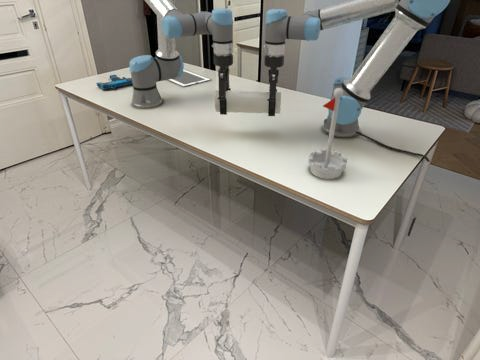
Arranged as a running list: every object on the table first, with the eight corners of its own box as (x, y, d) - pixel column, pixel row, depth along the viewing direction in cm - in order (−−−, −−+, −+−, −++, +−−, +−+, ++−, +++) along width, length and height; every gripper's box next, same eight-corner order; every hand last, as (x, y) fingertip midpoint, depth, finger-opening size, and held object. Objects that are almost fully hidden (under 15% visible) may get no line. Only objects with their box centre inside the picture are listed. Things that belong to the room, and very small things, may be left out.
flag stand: (330, 158, 128) (344, 79, 112) (352, 176, 118) (370, 92, 102) (300, 165, 124) (309, 84, 108) (320, 183, 114) (333, 97, 98)
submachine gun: (140, 68, 226) (159, 74, 209) (142, 73, 228) (160, 80, 211) (89, 77, 207) (104, 85, 190) (90, 84, 209) (106, 92, 192)
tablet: (156, 75, 222) (156, 74, 221) (183, 69, 233) (183, 69, 233) (183, 86, 201) (183, 86, 201) (210, 80, 212) (210, 79, 212)
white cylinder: (279, 109, 144) (280, 89, 140) (279, 116, 137) (281, 96, 133) (218, 107, 146) (217, 88, 142) (215, 114, 139) (214, 94, 135)
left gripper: (217, 47, 139) (219, 100, 151) (209, 60, 121) (212, 119, 134) (235, 48, 138) (236, 101, 151) (230, 61, 121) (231, 120, 133)
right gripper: (265, 48, 138) (263, 102, 150) (263, 61, 120) (261, 121, 132) (283, 48, 137) (280, 102, 149) (285, 62, 119) (281, 122, 132)
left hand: (224, 110), depth 142 cm, fingers closed on white cylinder, 8 cm apart
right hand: (271, 111), depth 141 cm, fingers closed on white cylinder, 8 cm apart
